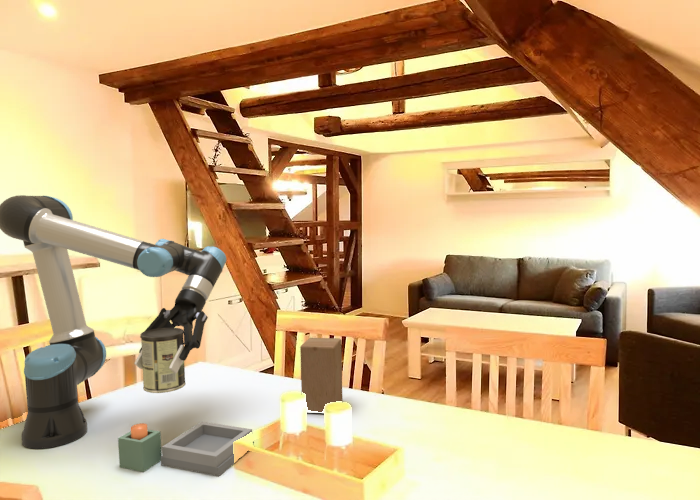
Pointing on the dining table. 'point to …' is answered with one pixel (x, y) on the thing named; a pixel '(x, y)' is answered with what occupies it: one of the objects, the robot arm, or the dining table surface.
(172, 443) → the tray
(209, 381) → the dining table surface
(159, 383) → the coffee can
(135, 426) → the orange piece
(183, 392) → the dining table surface
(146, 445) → the green egg cup
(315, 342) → the wooden block
